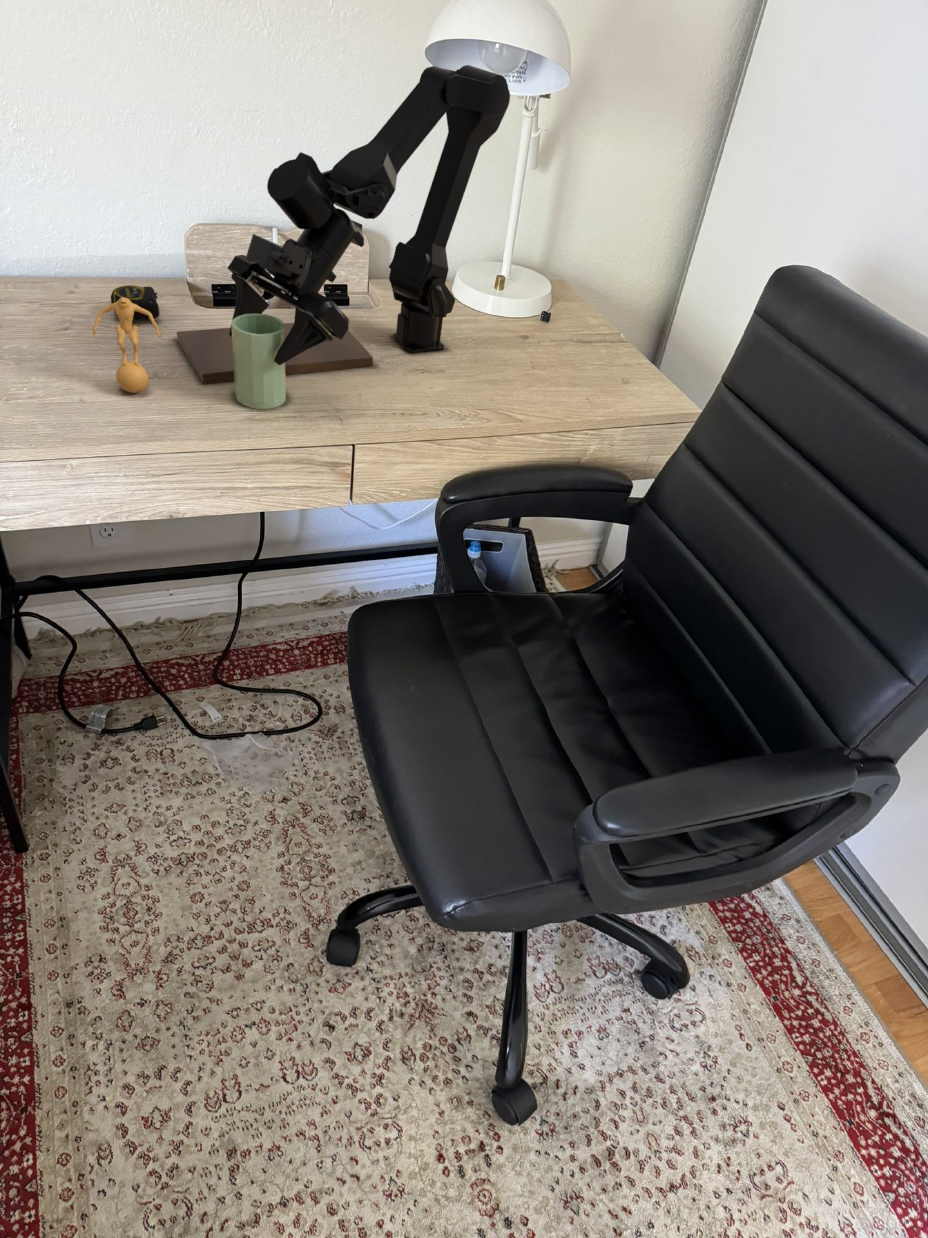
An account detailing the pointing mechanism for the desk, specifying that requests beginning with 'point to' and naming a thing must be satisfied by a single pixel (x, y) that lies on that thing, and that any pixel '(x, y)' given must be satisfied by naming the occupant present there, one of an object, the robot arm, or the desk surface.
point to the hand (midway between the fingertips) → (253, 349)
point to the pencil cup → (258, 360)
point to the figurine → (128, 373)
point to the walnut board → (216, 364)
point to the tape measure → (138, 299)
